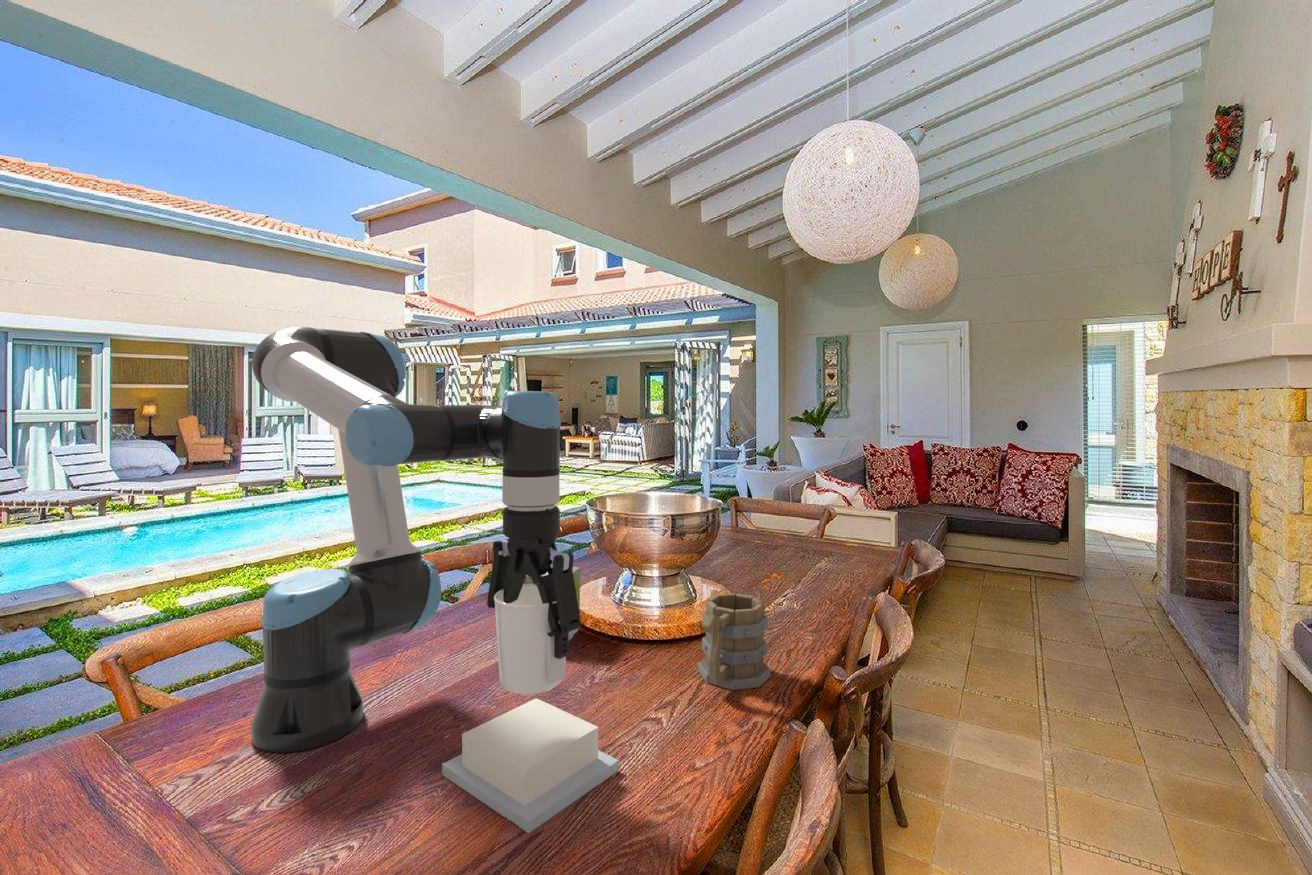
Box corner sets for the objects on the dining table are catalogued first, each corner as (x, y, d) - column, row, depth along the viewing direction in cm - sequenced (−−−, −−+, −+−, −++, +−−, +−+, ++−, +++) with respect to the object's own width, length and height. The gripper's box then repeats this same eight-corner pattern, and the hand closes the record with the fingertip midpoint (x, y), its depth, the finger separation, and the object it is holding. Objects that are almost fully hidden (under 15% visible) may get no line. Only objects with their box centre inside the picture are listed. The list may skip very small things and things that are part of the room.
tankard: (717, 655, 124) (719, 582, 123) (777, 669, 118) (779, 593, 117) (669, 694, 107) (670, 610, 106) (735, 714, 101) (737, 625, 100)
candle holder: (536, 659, 90) (536, 579, 89) (582, 678, 84) (582, 592, 83) (479, 682, 82) (478, 594, 82) (525, 705, 76) (525, 611, 76)
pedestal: (442, 774, 83) (441, 731, 83) (533, 726, 96) (533, 689, 95) (528, 833, 72) (528, 784, 72) (618, 770, 85) (619, 728, 84)
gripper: (610, 511, 78) (609, 683, 79) (503, 494, 92) (503, 641, 93) (567, 519, 72) (567, 704, 73) (459, 500, 86) (460, 657, 87)
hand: (531, 669), depth 83 cm, fingers closed on candle holder, 9 cm apart
